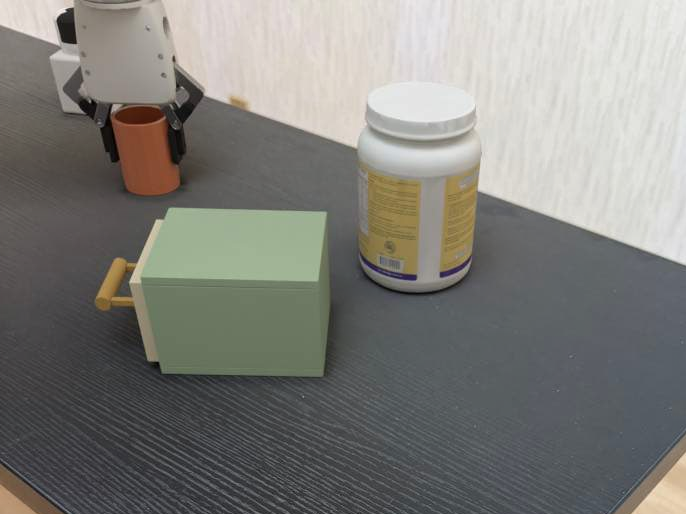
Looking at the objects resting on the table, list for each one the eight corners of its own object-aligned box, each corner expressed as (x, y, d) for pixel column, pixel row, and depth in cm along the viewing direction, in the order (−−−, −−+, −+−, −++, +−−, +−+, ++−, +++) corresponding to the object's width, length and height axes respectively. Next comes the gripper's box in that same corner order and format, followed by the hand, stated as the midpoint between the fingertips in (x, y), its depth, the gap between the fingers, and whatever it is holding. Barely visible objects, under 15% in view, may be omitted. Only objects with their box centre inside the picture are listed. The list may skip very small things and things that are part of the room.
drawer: (100, 360, 72) (77, 281, 67) (128, 294, 80) (110, 217, 75) (297, 364, 73) (291, 286, 67) (306, 298, 81) (302, 223, 75)
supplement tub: (449, 235, 93) (461, 73, 80) (487, 289, 85) (506, 119, 72) (346, 247, 90) (342, 81, 78) (375, 303, 82) (375, 129, 70)
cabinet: (161, 374, 73) (139, 276, 66) (186, 300, 81) (168, 207, 74) (323, 377, 73) (318, 280, 66) (330, 303, 82) (326, 211, 75)
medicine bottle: (130, 100, 118) (111, 4, 109) (110, 117, 113) (88, 19, 104) (84, 95, 119) (62, 0, 110) (62, 112, 114) (36, 14, 105)
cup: (119, 195, 97) (103, 124, 91) (132, 172, 101) (117, 103, 96) (175, 196, 97) (162, 126, 91) (184, 173, 102) (173, 105, 96)
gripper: (202, -23, 87) (224, 149, 100) (40, -29, 86) (83, 144, 99) (191, -4, 82) (215, 174, 95) (18, -10, 81) (66, 170, 94)
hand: (147, 158), depth 97 cm, fingers closed on cup, 6 cm apart
